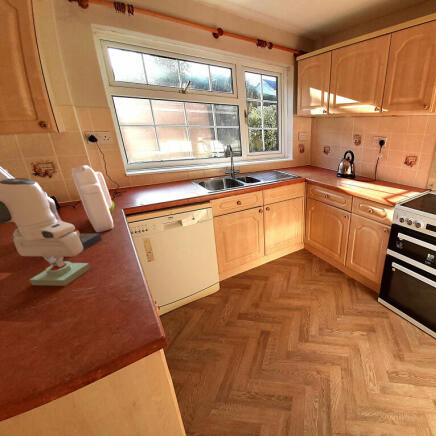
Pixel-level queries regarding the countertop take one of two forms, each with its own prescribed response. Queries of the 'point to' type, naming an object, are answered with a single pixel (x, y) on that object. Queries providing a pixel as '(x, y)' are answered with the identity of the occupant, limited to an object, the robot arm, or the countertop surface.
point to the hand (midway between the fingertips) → (58, 265)
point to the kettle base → (60, 274)
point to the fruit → (111, 207)
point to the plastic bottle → (52, 207)
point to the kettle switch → (57, 267)
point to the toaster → (94, 197)
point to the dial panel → (89, 239)
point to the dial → (77, 233)
